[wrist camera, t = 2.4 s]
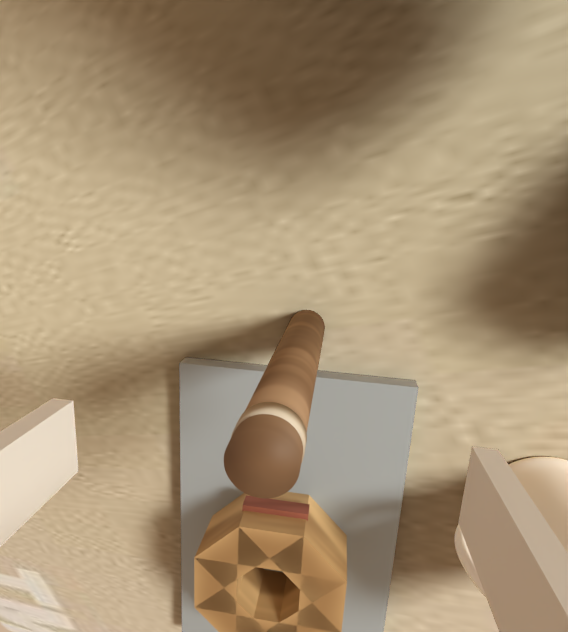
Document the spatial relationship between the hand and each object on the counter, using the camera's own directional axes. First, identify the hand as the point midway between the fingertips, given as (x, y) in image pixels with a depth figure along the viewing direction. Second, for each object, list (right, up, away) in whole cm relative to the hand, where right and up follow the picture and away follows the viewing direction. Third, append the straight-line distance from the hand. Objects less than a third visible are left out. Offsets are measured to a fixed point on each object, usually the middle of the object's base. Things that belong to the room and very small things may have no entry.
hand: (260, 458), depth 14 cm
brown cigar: (+2, +4, +15) cm, 15 cm away
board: (+1, -11, +18) cm, 21 cm away
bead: (0, -13, +18) cm, 22 cm away
